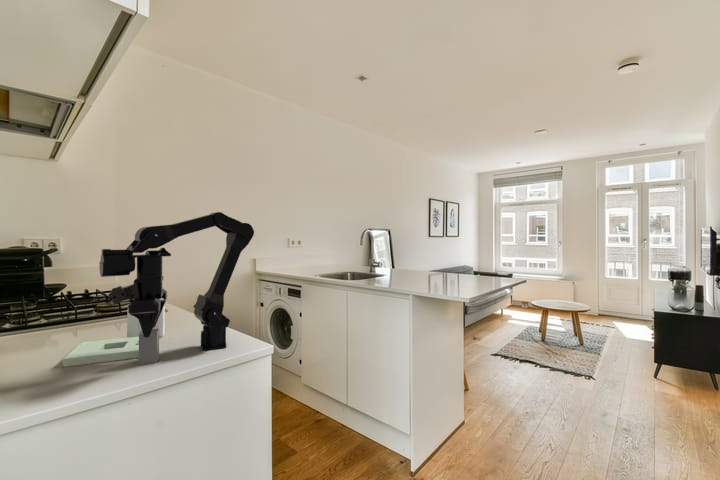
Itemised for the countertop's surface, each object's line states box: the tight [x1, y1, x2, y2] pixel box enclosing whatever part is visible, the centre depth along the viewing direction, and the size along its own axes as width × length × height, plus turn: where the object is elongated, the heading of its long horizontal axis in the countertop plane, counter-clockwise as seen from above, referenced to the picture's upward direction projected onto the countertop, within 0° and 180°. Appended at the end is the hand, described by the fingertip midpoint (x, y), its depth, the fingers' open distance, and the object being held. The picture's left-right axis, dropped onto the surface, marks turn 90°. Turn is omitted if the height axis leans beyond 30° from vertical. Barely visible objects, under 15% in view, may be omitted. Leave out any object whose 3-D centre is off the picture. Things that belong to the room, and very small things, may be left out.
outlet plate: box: [62, 337, 139, 368], centre depth 93 cm, size 18×16×2 cm
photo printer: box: [126, 305, 166, 338], centre depth 105 cm, size 10×4×12 cm, turn 123°
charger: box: [138, 329, 160, 366], centre depth 86 cm, size 4×4×8 cm
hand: (149, 332), depth 86 cm, fingers open, 9 cm apart
